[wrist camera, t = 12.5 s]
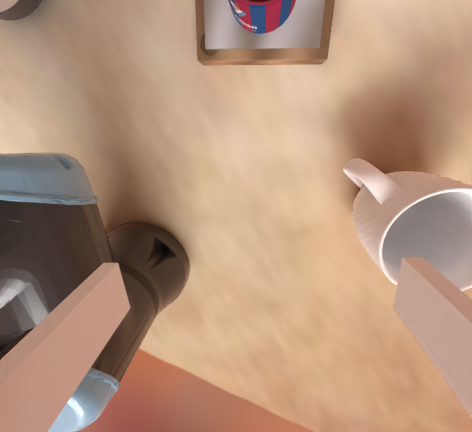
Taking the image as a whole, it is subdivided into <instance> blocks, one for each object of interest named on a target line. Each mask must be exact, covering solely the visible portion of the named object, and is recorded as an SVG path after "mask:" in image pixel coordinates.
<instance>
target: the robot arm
mask: <svg viewBox="0 0 472 432" xmlns="http://www.w3.org/2000/svg"><path fill="white" fill-rule="evenodd" d="M97 203H98V198H97V197H96V196H95V195H94V193H93V191H92V188H91V186H90V183H89V181H88V178H87V176H86V173H85V170H84V168H83V166H82V165H81V164H80V163H79V162H78V161H77V160H76V159H75V158H73V157H71V156H69V155H66V154H62V153H17V154H0V432H75V431H78V430H81V429H84V428H85V427H87V426H88V425H90V424H91V423H92V422H94V421H95V420H96V419H97V418H98V417H99V416H100V414H101V413H102V411H103V410H104V408H105V407H106V405H107V404H108V402H109V401H110V399H111V398H112V396H113V395H114V393H115V392H116V391H117V390H118V389H119V386H120V382H121V379H122V378H123V376H124V374H125V372H126V370H127V368H128V367H129V365H130V363H131V361H132V359H133V358H134V356H135V354H136V352H137V350H138V348H139V347H140V345H141V343H142V341H143V339H144V337H145V336H146V334H147V332H148V330H149V328H150V326H151V325H152V322H153V321H154V319H155V317H156V315H157V314H158V313H160V312H161V311H162V310H163V309H164V308H165V307H166V306H167V305H169V304H170V303H172V302H173V301H174V300H175V299H176V298H177V297H178V296H179V295H180V293H181V292H182V290H183V288H184V286H185V284H186V282H187V280H188V276H189V262H188V258H187V256H186V253H185V251H184V249H183V248H182V246H181V245H180V244H179V242H178V241H177V240H176V239H175V238H174V237H173V236H172V235H170V234H169V233H168V232H166V231H165V230H163V229H161V228H159V227H157V226H154V225H151V224H147V223H138V222H135V223H127V224H124V225H121V226H119V227H117V228H115V229H114V230H113V231H111V232H110V233H109V234H106V231H105V228H104V225H103V222H102V218H101V215H100V212H99V209H98V206H97ZM393 309H394V310H395V311H396V313H397V314H398V316H399V317H400V318H401V320H402V321H403V323H404V324H405V325H406V327H407V328H408V330H409V331H410V332H411V334H412V335H413V337H414V338H415V339H416V341H417V342H418V344H419V345H420V346H421V348H422V349H423V351H424V352H425V353H426V355H427V356H428V357H429V359H430V360H431V362H432V363H433V364H434V366H435V367H436V369H437V370H438V371H439V373H440V374H441V376H442V377H443V378H444V380H445V381H446V383H447V384H448V385H449V387H450V388H451V390H452V391H453V392H454V394H455V395H456V397H457V398H458V399H459V401H460V402H461V404H462V405H463V406H464V408H465V409H466V411H467V412H468V413H469V415H470V416H471V418H472V299H470V298H469V297H468V296H467V295H466V294H465V293H463V292H462V291H461V290H460V289H459V288H457V287H456V286H455V285H454V284H453V283H452V282H450V281H449V280H448V279H447V278H446V277H444V276H443V275H442V274H441V273H440V272H439V271H437V270H436V269H435V268H434V267H433V266H431V265H430V264H429V263H428V262H427V261H425V260H424V259H423V258H422V257H402V262H401V267H400V272H399V278H398V283H397V288H396V294H395V299H394V304H393Z"/></svg>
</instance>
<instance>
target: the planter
mask: <svg viewBox="0 0 472 432" xmlns="http://www.w3.org/2000/svg"><path fill="white" fill-rule="evenodd" d="M40 2H41V0H0V19H3V20H17V19H21V18H23V17H25V16H27V15H29V14H30V13H32V12H33V11H34V10H35V9H36V8H37V6H38V5H39V3H40Z"/></svg>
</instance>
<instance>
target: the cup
mask: <svg viewBox="0 0 472 432" xmlns="http://www.w3.org/2000/svg"><path fill="white" fill-rule="evenodd" d="M228 1H229V4H230V7H231V10H232V13H233V15H234V17H235V19H236V20H237V22H238V23H239V24H240V25H241V26H242V27H243V28H244V29H246V30H248V31H250V32H253V33H258V34H263V33H268V32H272V31H274V30H275V29H277V28H279V27H280V26H281V25H282V24H283V23H284V22H285V21H286V20H287V19H288V17H289V16H290V14H291V12H292V10H293V8H294V5H295V2H296V0H228Z"/></svg>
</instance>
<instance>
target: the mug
mask: <svg viewBox="0 0 472 432" xmlns="http://www.w3.org/2000/svg"><path fill="white" fill-rule="evenodd" d="M343 171H344V173H345V174H346V175H347V176H348V177H349V178H350V179H351V180H352V181H353V182H354V183H355V184H356V185H357V186H358V187H359V188H360V189H361V190H360V191H359V193H358V194H357V196H356V198H355V200H354V204H353V209H352V212H353V214H352V216H353V222H354V227H355V229H356V233H357V234H358V237H359V239H360V240H361V243H362V244H363V246H364V247H365V249H366V250H367V252H368V253H369V255H370V256H371V257H372V258H373V260H374V262H375V263H376V264H377V265H378V266H379V268H380V269H381V270H382V271H383V273H384V274H385V275H386V276H387V277H388V278H389V279H390V280H391V281H392V282H393V283H394V284H395V285H397V283H398V278H399V272H400V267H401V262H402V257H422V258H423V259H424V260H425V261H427V262H428V263H429V264H430V265H431V266H433V267H434V268H435V269H436V270H437V271H439V272H440V273H441V274H442V275H443V276H444V277H446V278H447V279H448V280H449V281H450V282H452V283H453V284H454V285H455V286H456V287H457V288H459V289H460V290H461V291H463V290H466V289H468V288H471V287H472V186H471V185H468V184H464V183H462V182H460V181H456V180H452V179H450V178H448V177H442V176H440V175H434V174H431V173H423V172H420V171H419V172H414V171H401V172H392V173H387V174H384V173H382V172H381V171H380V170H379V169H377V168H376V167H374V166H373V165H372V164H370V163H368V162H367V161H365V160H363V159H360V158H353V159H351V160H350V161H348V162H347V163H346V164H345V165H344V167H343Z"/></svg>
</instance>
